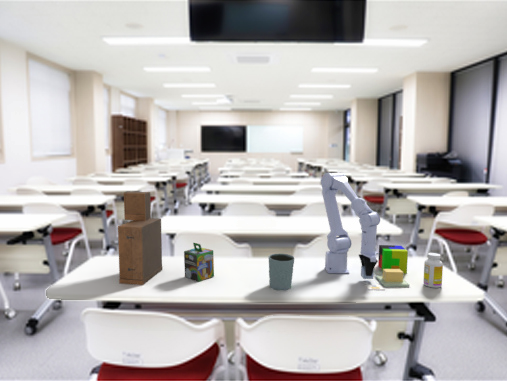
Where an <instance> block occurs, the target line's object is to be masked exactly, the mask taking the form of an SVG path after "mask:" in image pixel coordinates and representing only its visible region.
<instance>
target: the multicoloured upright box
mask: <svg viewBox="0 0 507 381" xmlns="http://www.w3.org/2000/svg"><path fill="white" fill-rule="evenodd" d="M192 244H193V247H194V248H191V249H188V250H184V252H183V254H184V255H183V260H184V262H183V265H184V278H186V279H189V280H192V281H194V282H197V283H199V282H202V281H205V280H208V279H210V278H212V277H213V278H214V277H215V263H214V262H215V261H214V250H213V249H209V248H205V247H202V245H201V243H196V242H193V243H192Z"/></svg>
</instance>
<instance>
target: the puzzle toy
mask: <svg viewBox="0 0 507 381" xmlns="http://www.w3.org/2000/svg"><path fill="white" fill-rule="evenodd" d="M408 257H409V252H408V250H407V249H406V248H404V247H403V246H402V245H394V244H393V245H392V244H391V245H389V244H388V245H386V244H379V245H378V259H377V260H378V262H377V264H378V265H377V266H378V268H379V269H380V268H381V269H380V270H381V271H382V272H383V269H400V270H401V271H403V274H407V272H408Z"/></svg>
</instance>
